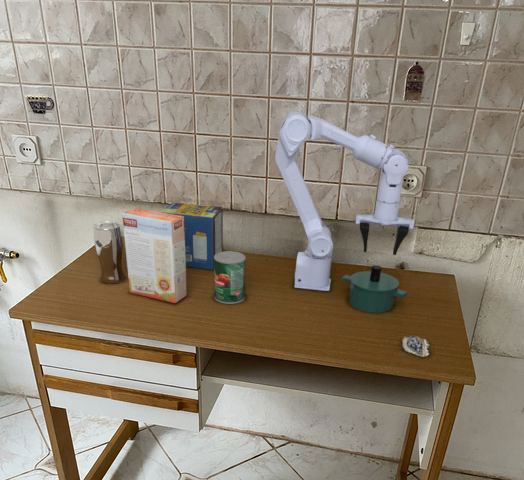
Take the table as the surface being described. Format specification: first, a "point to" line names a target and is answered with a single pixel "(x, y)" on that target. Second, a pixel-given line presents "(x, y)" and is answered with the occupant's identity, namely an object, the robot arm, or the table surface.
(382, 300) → the pot
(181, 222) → the cracker box
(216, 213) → the protein box
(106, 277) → the beer glass
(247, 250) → the table surface
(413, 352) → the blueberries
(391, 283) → the lid
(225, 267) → the canned tomato
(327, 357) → the table surface
